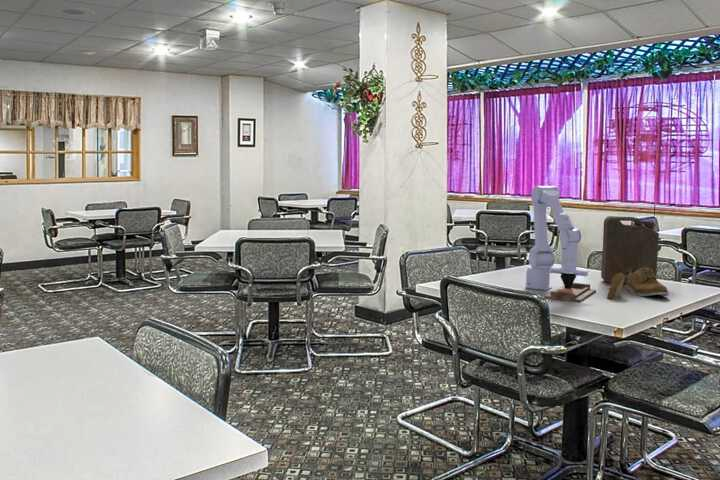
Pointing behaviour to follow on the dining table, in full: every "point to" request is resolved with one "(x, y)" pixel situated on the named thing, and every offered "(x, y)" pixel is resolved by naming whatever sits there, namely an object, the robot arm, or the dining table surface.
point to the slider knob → (565, 290)
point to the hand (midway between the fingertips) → (567, 292)
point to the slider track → (578, 293)
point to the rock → (616, 286)
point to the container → (628, 247)
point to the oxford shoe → (645, 283)
